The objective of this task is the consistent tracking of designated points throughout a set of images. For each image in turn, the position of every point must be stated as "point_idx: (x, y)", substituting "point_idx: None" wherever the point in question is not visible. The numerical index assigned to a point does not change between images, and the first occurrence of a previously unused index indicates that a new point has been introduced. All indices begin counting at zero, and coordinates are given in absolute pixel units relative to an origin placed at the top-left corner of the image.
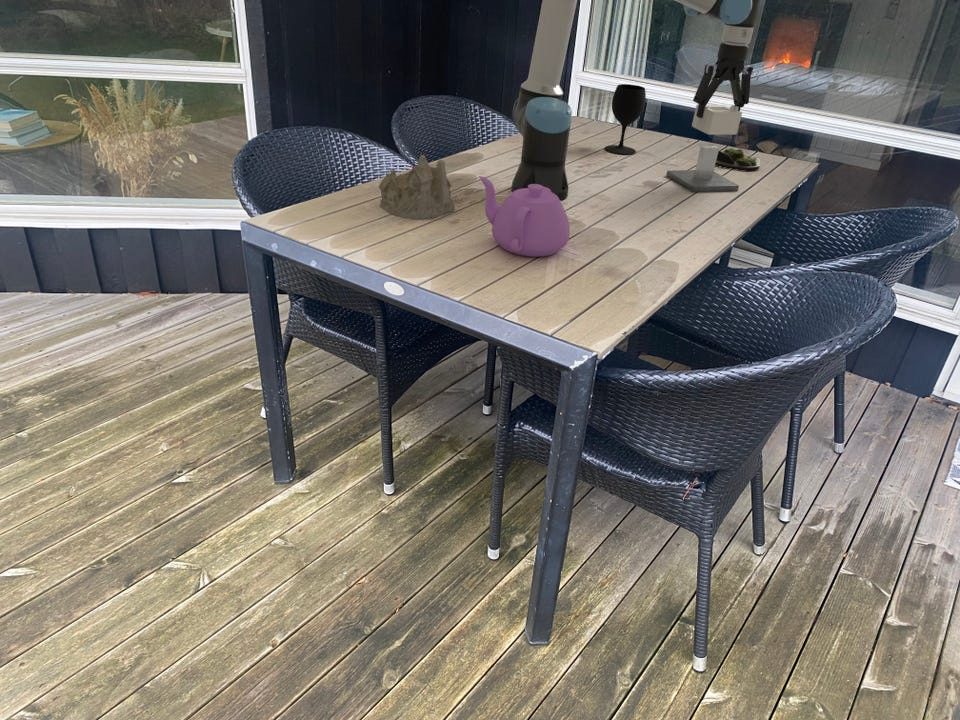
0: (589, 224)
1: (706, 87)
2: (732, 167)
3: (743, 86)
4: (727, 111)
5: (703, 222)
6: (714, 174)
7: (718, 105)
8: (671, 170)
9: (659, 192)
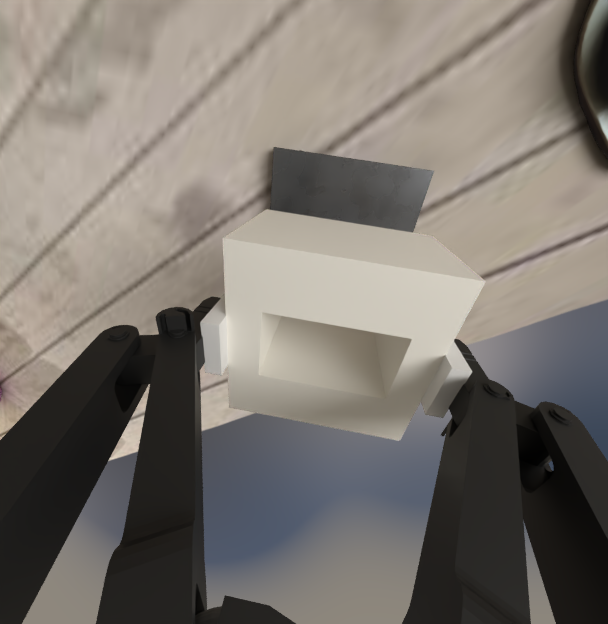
0: (37, 349)
1: (81, 486)
2: (590, 123)
3: (583, 583)
4: (324, 412)
5: (205, 389)
6: (400, 219)
7: (408, 289)
8: (288, 149)
9: (192, 267)
